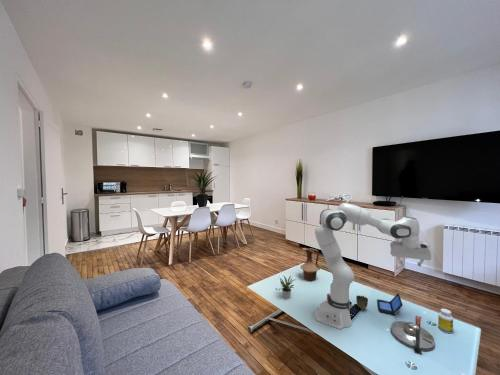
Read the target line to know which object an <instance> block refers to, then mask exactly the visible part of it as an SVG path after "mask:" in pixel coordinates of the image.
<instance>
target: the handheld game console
mask: <svg viewBox="0 0 500 375" xmlns="http://www.w3.org/2000/svg"><path fill="white" fill-rule="evenodd" d="M376 303H377V304H376V305H377V309H378V310H377V311H378V312H379V313H381V314H385V315H389V316H393V317H395V316H396V313H397V312H398V311H399V310H400V309H401V308H402V307H403V304H404V303H403V302H402V299H401V296H400V293H396V295H395V296H394V297H393V298H392V299H391V300H390V301H388V300H383V299H379V298H378V299H376Z"/></svg>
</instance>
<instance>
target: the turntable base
mask: <svg viewBox="0 0 500 375" xmlns="http://www.w3.org/2000/svg"><path fill="white" fill-rule="evenodd" d="M390 333H391V335H392V337H393V338H394V339H395V340H396V341H397V342H398V343H400V344H401V345H403V346H405V347H407V348H410V349H412V350H414V349H416V348H415V347H412V346H409V345H407V344H405V343H403V342H402V341H400V340H399V339H398V338H396V337H395V336H394V335H393V333H392V331H391V330H390ZM413 348H414V349H413ZM435 348H436V343H435V342H434V347H433V348H431V349H420V350H421V352H424V353H426V352H432V351H433V350H435Z"/></svg>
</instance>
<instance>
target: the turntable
mask: <svg viewBox="0 0 500 375" xmlns="http://www.w3.org/2000/svg"><path fill="white" fill-rule="evenodd" d="M408 322H409V321H408ZM408 322H407V321H404V320H398V321H397V320H396V321H393V322H392V323H391V324H390V332H391V331H392V333H393V335H394V336H395V337H396V338H398V339H399V340H400V341H402V342H403V343H405V344H407V345H409V346H412V347H415V348H416V337H413V336H410V335H408V334H406V333H405V332H404V330H403V325H404V323H408ZM414 324H416V325H418V326H419V330H420V349H431V348H433V347H434V343H435V338H434V336H433V335H432V334H431V333H430V332H429V331H428V330H426V329H425V328H423V327H421V326H422V325H421V316H419V315H415V321H414Z"/></svg>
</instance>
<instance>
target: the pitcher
mask: <svg viewBox="0 0 500 375" xmlns="http://www.w3.org/2000/svg"><path fill="white" fill-rule="evenodd" d="M301 250H302V251H304V252H306V261H305V262H304V263H302V264H301V265H300V269H301V270H302V272H303V279H304V280H305V281H308V282H314V281H316V280H317V273H318V271H320V270H321V268H320V266H319V264H318V261H319V256H320V252H319V250H317V249H316V248H315V249H314V248H311V247H310V248H307V247H303V248H301ZM314 252H316V258H315V263H314V261H313V257H312V255H313V254H314Z"/></svg>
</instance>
